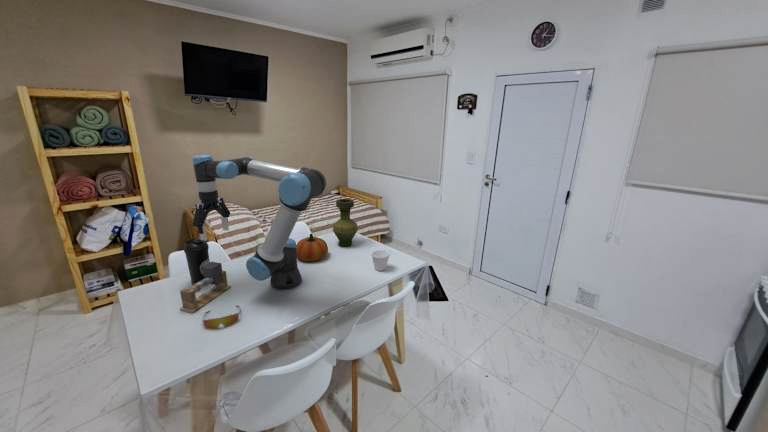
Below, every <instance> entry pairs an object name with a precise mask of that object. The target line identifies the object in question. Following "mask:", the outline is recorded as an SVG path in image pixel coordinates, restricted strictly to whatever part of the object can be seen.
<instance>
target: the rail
mask: <svg viewBox="0 0 768 432" xmlns="http://www.w3.org/2000/svg"><path fill="white" fill-rule="evenodd" d="M220 276H221V283H219V284H218V285H214V286H212V287H210V288H209V289H207V291H205V292H203V293H201V294H200V295H198V296H197V295H196V293H198V292H200V291H202V290H203V289H204V288H206V287H208V286H209V285H212V284H211V283H212V282H214V277H213V278H211V277H206V278H205V279H203V280H201V281H199V282H198V283H196V284H193V285H192V284H191V286H189V287H188V288H185V287H184V288H183V289H181V290H180V291H179V293H180V299H181V304H182V307H180V308H179V311H180V312H185V313H189V314H195V313H196V312H198V311H199V310H201V309H203V308H204V307H205V306H207V305H208V304H210V303H211V302H213V301H214V300H215V299H217V298H218V297H220V296H221V295H223V294H224V293H225V292H227V291H228V290H230V289H231V288H232V286H231V285H229V284H228V277H227V271H226V270H223V269H222V272H221V273H220ZM222 293H223V294H222ZM196 296H197V297H196Z"/></svg>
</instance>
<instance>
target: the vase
mask: <svg viewBox="0 0 768 432" xmlns="http://www.w3.org/2000/svg"><path fill="white" fill-rule="evenodd" d="M335 207H336V208H338V209H339V213H340V216H339V217H340V218H339V219H338V220H337V221H335V222H333V227H332V232H333V233H334V235H335V237H336V238H337V239H338V247H339V248H343V249H344V248H347V249H348V248H351V247H352V246H353V239H354V237H356V236H355V235H356V234H357V232H358V224H357V222H355V221H354V220H353V219H352V218H351V209H352V208H354V207H355V200H354V199H352V198H339V199H336V200H335Z"/></svg>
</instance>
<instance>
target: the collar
mask: <svg viewBox="0 0 768 432" xmlns="http://www.w3.org/2000/svg"><path fill="white" fill-rule="evenodd" d="M201 269H202V275H203V276H206V277H211V278H213V277H214V282H212V283H211V284H210V285H214V286H215V285H218V284H219V283H221V276H220V273H221V272H222V270H223V265H222V262H218V261H216V262H215V261H210V263H208V264H206V265H204V266H203V267H201Z"/></svg>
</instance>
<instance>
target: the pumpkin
mask: <svg viewBox="0 0 768 432" xmlns="http://www.w3.org/2000/svg"><path fill="white" fill-rule="evenodd" d="M296 247H297V248H296V250H297V259H299V260H301V261H304V262H318V261H319V260H322V259H324V258H325V257H326V256H327V254H328V251H329V246H328V243H327V242H326V240H324V239H323V238H320V237H317V236H314V235H313V233H310V234H309V236H308V237H305V238H302V239H300V240H299V241H298V242H296Z"/></svg>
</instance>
